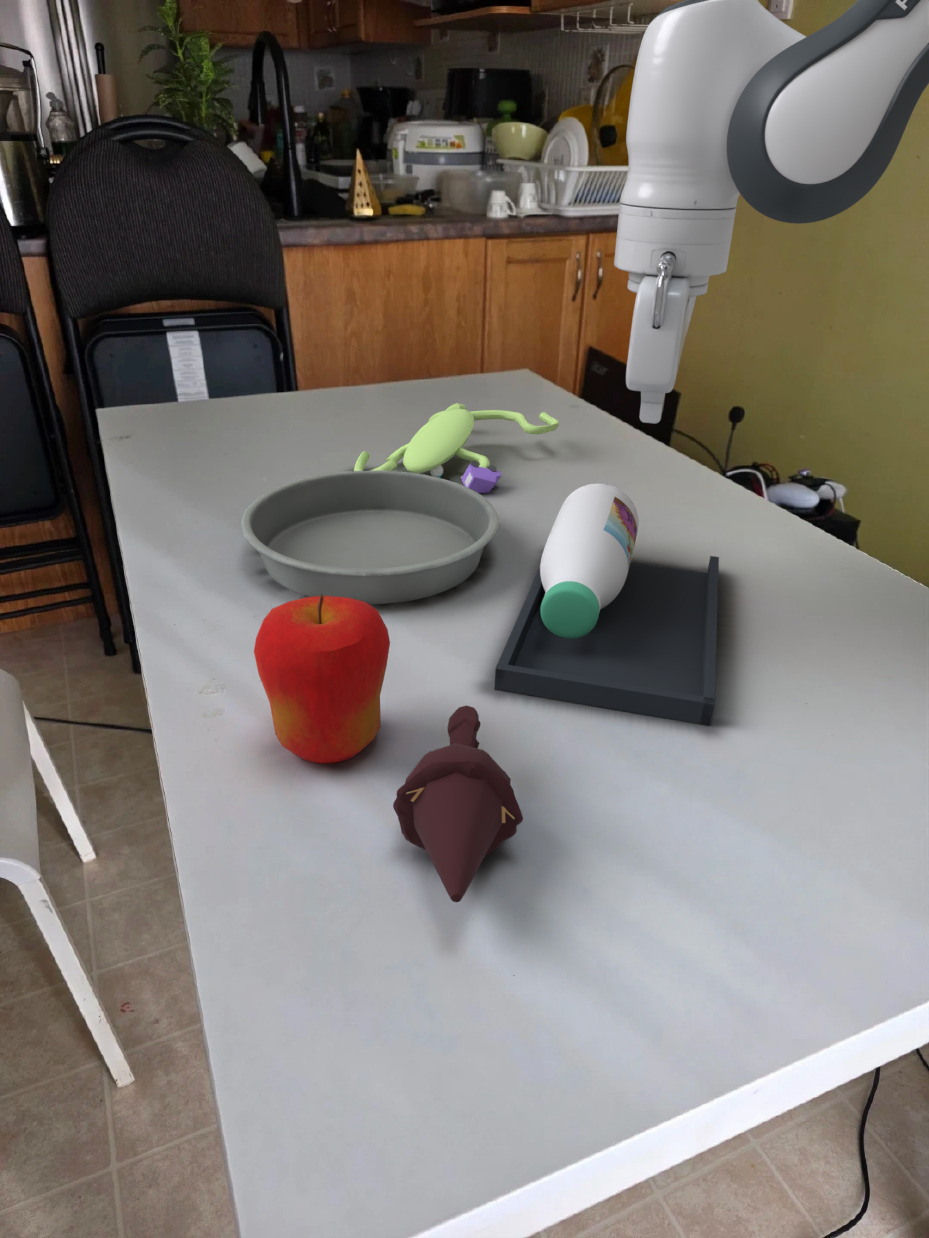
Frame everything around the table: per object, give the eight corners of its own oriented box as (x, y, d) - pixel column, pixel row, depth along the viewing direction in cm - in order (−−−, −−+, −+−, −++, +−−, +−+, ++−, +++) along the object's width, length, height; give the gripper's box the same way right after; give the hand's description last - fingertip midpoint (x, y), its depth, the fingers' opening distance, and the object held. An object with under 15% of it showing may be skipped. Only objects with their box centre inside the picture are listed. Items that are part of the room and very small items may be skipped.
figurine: (570, 449, 118) (574, 407, 115) (472, 513, 97) (474, 465, 95) (451, 425, 125) (452, 386, 123) (337, 480, 105) (335, 434, 102)
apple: (386, 704, 65) (383, 560, 60) (396, 777, 58) (393, 621, 52) (267, 712, 64) (252, 566, 58) (262, 787, 57) (245, 629, 51)
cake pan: (190, 571, 83) (184, 527, 81) (348, 492, 102) (346, 454, 100) (407, 644, 73) (406, 596, 71) (539, 541, 91) (542, 500, 89)
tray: (551, 555, 89) (553, 535, 88) (715, 577, 85) (718, 556, 84) (494, 692, 67) (495, 668, 66) (709, 729, 64) (714, 704, 63)
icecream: (548, 861, 43) (528, 706, 57) (402, 827, 42) (417, 678, 56) (506, 963, 46) (497, 792, 60) (368, 933, 45) (390, 766, 59)
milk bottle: (555, 546, 89) (514, 646, 72) (566, 474, 85) (526, 562, 68) (631, 561, 87) (608, 666, 71) (646, 488, 84) (626, 582, 67)
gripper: (710, 265, 60) (682, 460, 67) (715, 234, 77) (692, 392, 84) (617, 260, 61) (598, 452, 68) (642, 231, 79) (625, 386, 85)
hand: (650, 418), depth 76 cm, fingers closed
